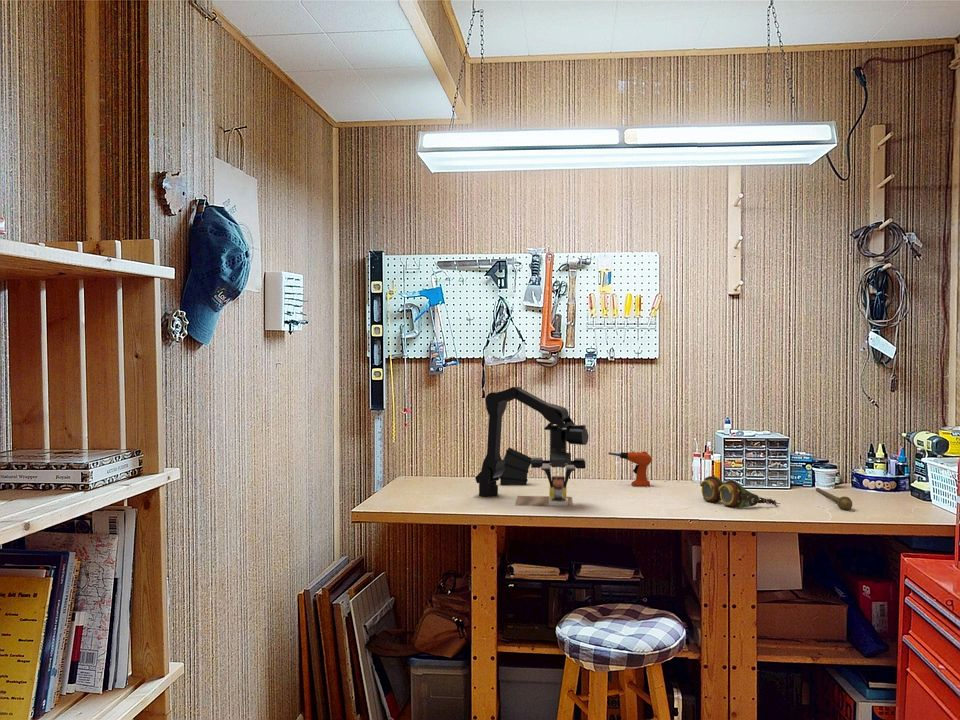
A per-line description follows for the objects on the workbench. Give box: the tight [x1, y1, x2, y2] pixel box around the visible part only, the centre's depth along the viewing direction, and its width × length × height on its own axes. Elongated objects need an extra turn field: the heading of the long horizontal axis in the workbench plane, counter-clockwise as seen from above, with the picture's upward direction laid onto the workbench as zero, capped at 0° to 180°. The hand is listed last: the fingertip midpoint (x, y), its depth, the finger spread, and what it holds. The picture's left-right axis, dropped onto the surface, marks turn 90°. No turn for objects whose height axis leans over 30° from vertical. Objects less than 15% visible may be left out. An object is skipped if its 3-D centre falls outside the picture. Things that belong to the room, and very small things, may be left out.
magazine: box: [499, 446, 533, 486], centre depth 288 cm, size 4×13×15 cm, turn 88°
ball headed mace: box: [815, 487, 853, 511], centre depth 255 cm, size 5×35×5 cm
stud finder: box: [549, 485, 567, 498], centre depth 254 cm, size 6×7×5 cm
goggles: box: [699, 475, 778, 509], centre depth 252 cm, size 24×24×10 cm
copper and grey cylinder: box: [551, 475, 565, 501], centre depth 246 cm, size 4×4×8 cm
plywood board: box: [514, 495, 574, 508], centre depth 251 cm, size 20×16×1 cm
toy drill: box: [607, 450, 652, 488], centre depth 285 cm, size 5×18×14 cm, turn 82°
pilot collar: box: [548, 497, 568, 507], centre depth 246 cm, size 7×7×2 cm
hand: (558, 487), depth 246 cm, fingers closed on copper and grey cylinder, 4 cm apart
